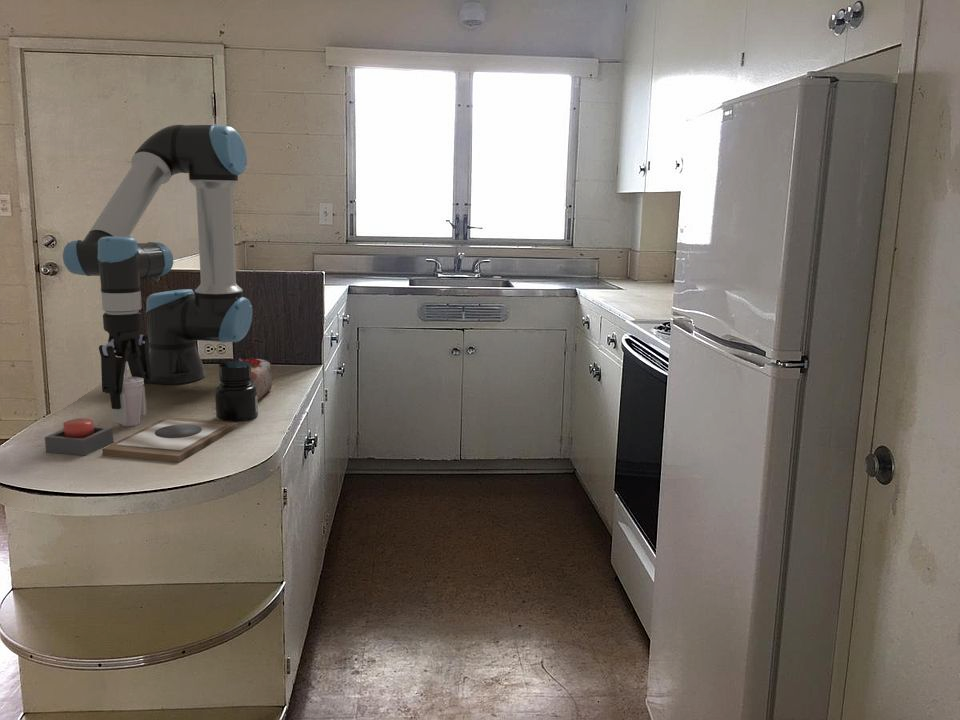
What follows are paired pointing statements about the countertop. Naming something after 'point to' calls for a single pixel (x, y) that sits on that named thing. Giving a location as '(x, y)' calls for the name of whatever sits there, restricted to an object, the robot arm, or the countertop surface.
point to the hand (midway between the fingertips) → (130, 418)
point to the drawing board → (170, 439)
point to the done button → (78, 428)
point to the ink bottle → (236, 392)
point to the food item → (260, 375)
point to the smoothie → (132, 398)
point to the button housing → (79, 442)
